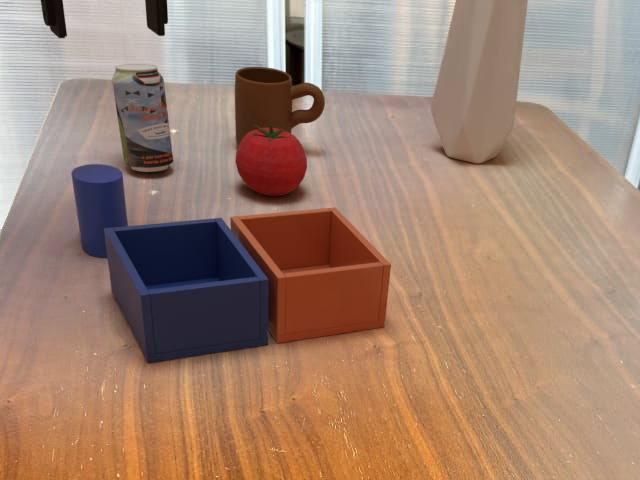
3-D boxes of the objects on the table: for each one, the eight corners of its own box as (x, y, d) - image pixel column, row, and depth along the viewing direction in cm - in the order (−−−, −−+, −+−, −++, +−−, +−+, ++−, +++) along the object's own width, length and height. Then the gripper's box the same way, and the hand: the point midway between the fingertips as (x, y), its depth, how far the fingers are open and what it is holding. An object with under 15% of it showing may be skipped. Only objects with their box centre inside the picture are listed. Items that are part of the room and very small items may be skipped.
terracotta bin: (277, 343, 85) (277, 278, 80) (231, 279, 94) (230, 216, 89) (384, 327, 90) (391, 264, 85) (332, 267, 98) (335, 207, 94)
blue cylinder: (87, 260, 93) (76, 184, 88) (77, 239, 96) (66, 165, 91) (135, 255, 95) (127, 180, 90) (123, 235, 98) (115, 162, 93)
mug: (325, 147, 125) (329, 75, 119) (318, 166, 119) (322, 92, 113) (241, 135, 125) (240, 63, 118) (230, 154, 119) (229, 79, 113)
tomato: (231, 201, 108) (230, 133, 103) (240, 174, 114) (239, 109, 109) (303, 208, 109) (306, 141, 103) (308, 181, 115) (310, 117, 110)
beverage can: (140, 182, 109) (130, 77, 101) (110, 162, 113) (98, 59, 105) (184, 173, 113) (178, 71, 104) (154, 154, 116) (146, 54, 108)
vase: (416, 158, 126) (450, -128, 104) (439, 134, 134) (475, -135, 112) (498, 177, 124) (550, -110, 102) (516, 152, 132) (568, -119, 110)
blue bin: (147, 363, 80) (140, 294, 76) (111, 293, 89) (103, 228, 84) (268, 344, 85) (268, 279, 80) (223, 280, 93) (221, 217, 89)
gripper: (167, -188, 81) (178, 21, 93) (-32, -208, 73) (6, 24, 85) (200, -176, 77) (206, 42, 88) (-9, -196, 69) (28, 47, 80)
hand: (108, 33), depth 86 cm, fingers open, 9 cm apart
